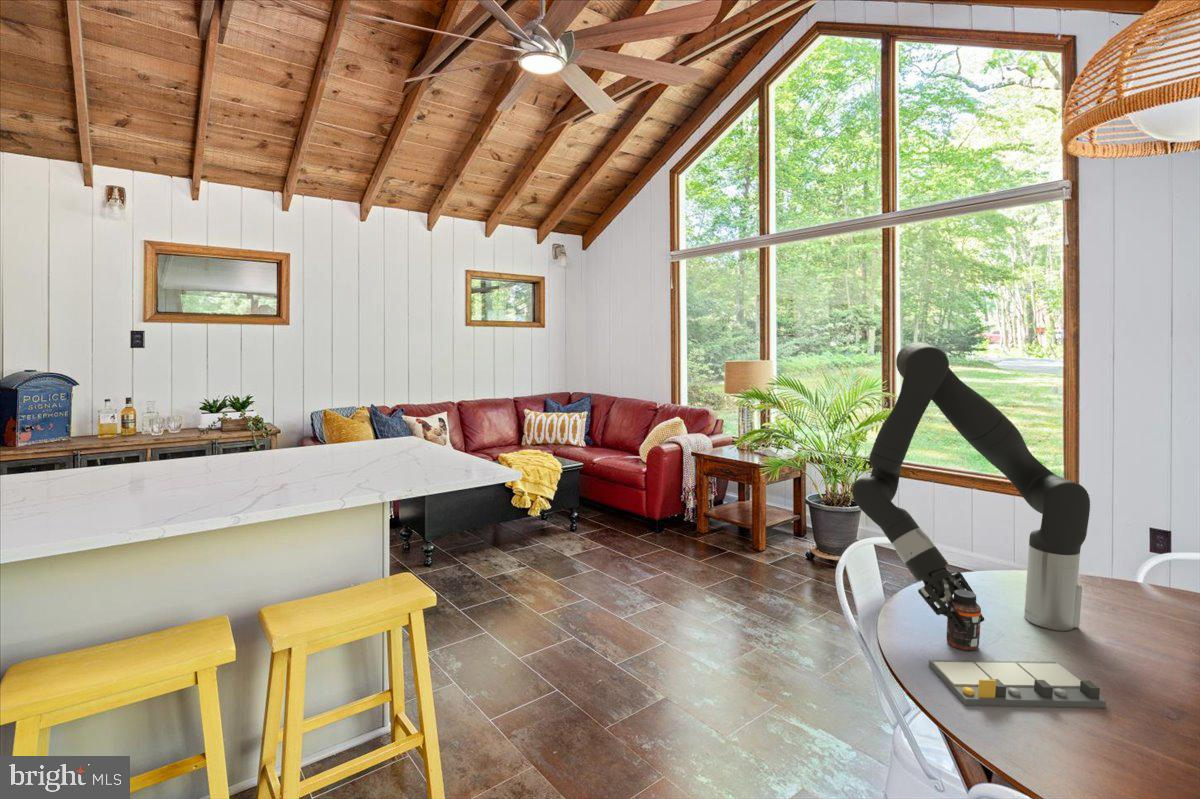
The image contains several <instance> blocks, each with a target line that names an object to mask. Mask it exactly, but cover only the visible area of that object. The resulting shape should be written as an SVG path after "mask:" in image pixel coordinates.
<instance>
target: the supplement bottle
mask: <svg viewBox="0 0 1200 799" xmlns="http://www.w3.org/2000/svg"><path fill="white" fill-rule="evenodd" d="M973 592H974V591H973ZM973 592H971V591H967V590H966V589H965V590H955V591H954V599H953V600H952V603H953V606H954V608H955V611H957V612H958V613H959V615H960V616H961V618H962V619H963V620H964V622H965V623H966V624H967V626H968V629H966V630H964V631H962V632H958V631H957V629H955V627H954V626H953V625H952V623H951V622H950V620H949V619H948V618H947V617H946V618H947V620H946V622H947V624H946V642H947V643H948V645H950V646H952V647H953V648H955V649H959V650H962V651H968V650H970V651H975V650H977V649H979V645H980V636H981V622H980V620H981V614H982V607H981V606H980V604H978V603H977V594H976V593H975V592H974V593H973ZM955 611H954V612H955ZM970 651H969V652H970Z"/></svg>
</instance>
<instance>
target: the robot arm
mask: <svg viewBox="0 0 1200 799" xmlns="http://www.w3.org/2000/svg"><path fill="white" fill-rule="evenodd" d="M949 362H950V361H949V358H948V356H947V355H946V353H945V352H944V351H943V350H941V349H940V348H938V347H936V346H934V345H933V344H930V343H926V342H922V341H921V342H919V341H918V342H911V343H907V344H906V345H904V346H903V347H902V348H900V350H899V351H898V353H897V356H896V362H895V363H896V369H897V371H898V373H899V375H900V376H901V378H903V379H902V383H901V388H900V392H899V395H898V398H897V400H896V402H895V404H894V406H893V408H892V410H891V412H890V413H889V415H888V416H887V418H886V419H885V421H884V422H883V423H882V425H881V426H880V427H881V428H880V429H879V431H878V432H877V435H876V438H875V441H874V444H873V446H872V448H871V451H870V454H869V464H870V465H871V466H872V469H871V473H870V476H867V477H861V478H858V479H857V480H856V481H854V482H853V484H852V486H851V487H852V488H851V494H852V498H853V500H854V503H856V505H857V507H858V508H860V510H861V511H862V512H863V513H864V514H865V515H866V516H867V517H868V518H869V519H870V520H871V521H872V522H873V523H875V524H876V525H877V526H878V528H880V529H881V530H882V532H883V534H884V535H885V537H886V538H887V539H888V541H889V542H890V543H891V545H892V547H893V548H894V550H895V552H896V553H897V555H898V557H899V558H900V559H901V561H902V562H903V564H904V565H905V567H906V568H907V569H908V570H909V572H910V573H911V575H912V576H913V578H914V579H915V580H916V581H918V582H920V581H922V582H923V584H924V585H923V587H921V588H919V589H918V590H917V592H918V594H919V595H920V596H921V597H922V599H924V601H925V603H926V604H928V607H930V609H932V611H933V612H934V614H936V615H937V616H940V615H942V616H944V617H946V618H948V619H949V620H950V622H951V623H952V625H953V626H954V627H955V629H957V631H958V632H962V631H964V630H966V629H968V626H967V624H966V623H965V622H964V620H963V619H962V618H961V616H960V615H959V613H958V612H957V611H955V608H954V606H953V603H952V600H953V599H954V591H955V590H967V591H971V592H973V593H975V592H974V591H973V589H972V588H971V586H970V584H969V583H968V582H967V580H966V578H965V576H963V573H961V571H957V572H956V573H950V571H949V570H947V567H948V565H949V563H948V561H947V560H946V559H945V557H944V556H943V554H942V553H941V552H940V550H939V549H938V548H937V547H936V544H934V542H933V541H932V540H931V538H930V537H929V536H928V535H927V534H926V532H924V531H923V530H922V528H921V527H920V526H919V524H918V523H917V522H916V521H915V519H914V518H913V517H912V515H911V514H910V513H909V511H907V510H906V509H904V508H903V507H902V508H901V507H898V506H896V505H895V503H893V502H892V500H893V499H894V497H895V496H896V494H897V490H898V487H899V482H900V475H901V467H902V465H903V463H904V461H905V457H906V456H907V453H908V450H909V448H910V444H911V442H912V439H913V438H914V434H915V432H916V430H917V429H918V426H919V423H920V422H921V420H922V417H923V416H924V413H925V412H926V410H927V408H928V406H929V404H930V402H931V401H932V402H933V403H934V404H935V405H936V406H937V408H938V409H939V410H940V411H941V413H942V414H943V415H944V416H945V418H946V419H947V420H948V421H949V422H950V423H951V425H952V426H953V427H954V428H955V429H956V430H957V431H958V433H959V434H960V435H961V436H962V437H963V438H964V439H965V441H966V442H968V444H969V445H971V447H973V448H974V450H976V451H977V452H978V453H979V454H980V455H981V456H982V457H983V458H985V460H987V461H988V462H989V463H990V464H991V465H992V466H994V467H995V468H996V469H998V470H999V472H1001V473H1002V474H1003V475H1004V476H1005V477H1006V478H1007V479H1008V480H1009V481H1010V483H1011V484H1012V485H1013V487H1015V489H1016V490H1017V491H1018V493H1019V494H1020V496H1021V497H1022V498H1023V499H1024V500H1025V502H1026V503H1027V504H1028V505H1029V506H1030V508H1032V509H1033V510H1034V511H1036V512H1038V513H1040V514H1041V515H1042V516H1041V522H1040V528H1039V529H1035V530H1032V531H1031V532H1030V534H1029V540H1028V553H1027V554H1028V555H1027V569H1026V571H1027V572H1026V584H1025V585H1026V586H1025V597H1024V598H1025V600H1024V612H1023V615H1024V616H1023V618H1025V619H1026V620H1027V622H1029V623H1031V624H1033V625H1035V626H1038V627H1041V628H1043V629H1044V628H1045V629H1049V630H1053V631H1062V632H1063V631H1067V632H1068V631H1071V630H1072V631H1073V630H1074V629H1076V628H1078V629H1079V628H1080V622H1081V612H1082V611H1081V610H1082V598H1083V597H1082V596H1083V586H1082V585H1081V584H1079V570H1080V558H1081V548H1082V545H1083V544H1084V542H1085V541H1086V538H1087V533H1088V528H1089V527H1088V526H1089V520H1090V512H1091V501H1090V495H1089V493H1088V491H1087V489H1086V488H1085V487H1084V486H1083V485H1082V484H1079V483H1077V482H1075V481H1072V480H1070V479H1067V478H1064V477H1062V476H1060V475H1058V474H1055V473H1054V472H1052V471H1051V470H1050V469H1049V468H1047V467H1046V465H1044V464H1042V462H1040V461H1039V460H1038V459H1037V458H1036V457H1035V456H1034V455H1033V454H1032V453H1031V451H1030V450H1029V448H1028V446H1027V444H1026V442H1025V440H1024V437H1023V435H1022V434H1021V432H1020V431H1019V429H1018V428H1017V427H1016V426H1015V424H1013V422H1012V421H1011V420H1010V419H1009V418H1008V417H1007V416H1006V415H1005V414H1004V413H1003V412H1002V411H1001V410H999V409H998V408H997V407H996V406H995V405H994V404H993V403H991V402H990V401H989V400H988V399H986V398H985V397H984V396H982V395H981V394H980V393H979V392H977V391H976V390H974V389H973V388H972V387H970V386H968V385H967V384H966V383H965V382H963V381H962V380H961V379H960V378H959V377H958V376H957V375H956V374H955V373H954V372H953V370H952V369H951V367H950V363H949ZM954 611H955V612H954ZM984 621H985V617H984V616H983V615H982V613H981V620H980V623H982V622H984Z"/></svg>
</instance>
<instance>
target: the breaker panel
mask: <svg viewBox="0 0 1200 799" xmlns="http://www.w3.org/2000/svg"><path fill="white" fill-rule="evenodd" d="M928 667H929V668H931V670H932V671H933V672H934V673H935V674H936V676H938V678H939V679H940V680H941V681H942V682H943V683H944V684H945V685H946V686H947V688H949V689H950V691H951V692H952V693H953V694H954V695H955V696H956V697H957V698H958V699H959V700H960V702H961V703H962V704H963V705H964V706H967V707H968V706H976V707H977V706H978V707H980V706H981V707H1025V706H1026V707H1032V708H1033V707H1035V708H1037V707H1038V708H1083V707H1084V708H1085V709H1087V708H1088V709H1089V708H1090V709H1091V708H1092V709H1093V708H1094V709H1095V708H1096V709H1097V708H1098V709H1106V708H1107V700H1105V699H1104V698H1103V697H1102V696H1100V695H1101V694H1100V693H1101V687H1099V686H1098V685H1096V684H1095V683H1094V682H1093V681H1091V680H1088V679H1087V680H1084V679H1083V680H1080V679H1079V678H1077V676H1075V675H1074V674H1072V673H1071V672H1069V670H1067V669H1066V668H1064V667H1063V666H1062V665H1060V664H1059V663H1057V662H1055V661H1036V660H1035V661H1031V660H1029V661H1027V660H1025V661H1023V660H1019V661H1017V660H1016V661H1015V660H960V659H959V660H956V659H955V660H954V659H953V660H950V659H947V660H946V659H942V660H941V659H929V660H928Z"/></svg>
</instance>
